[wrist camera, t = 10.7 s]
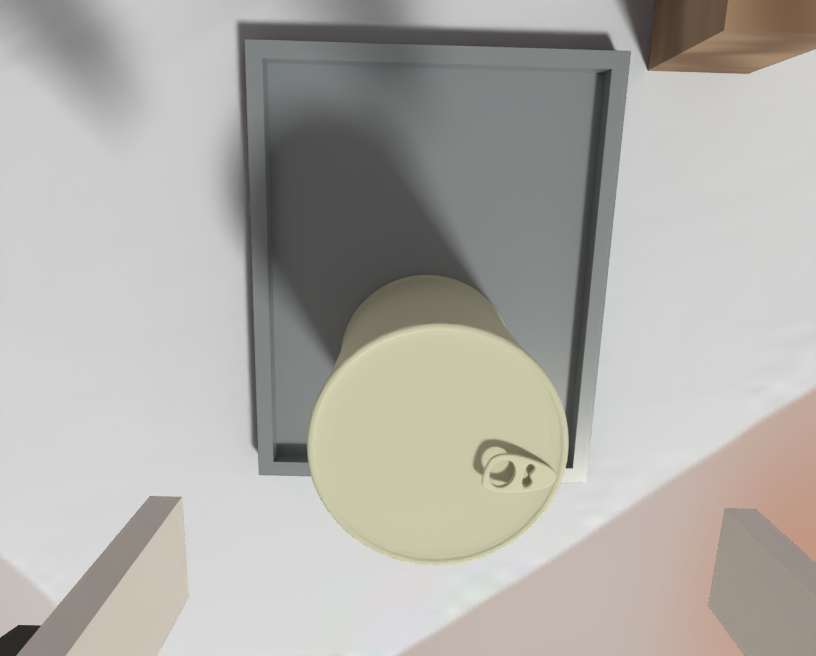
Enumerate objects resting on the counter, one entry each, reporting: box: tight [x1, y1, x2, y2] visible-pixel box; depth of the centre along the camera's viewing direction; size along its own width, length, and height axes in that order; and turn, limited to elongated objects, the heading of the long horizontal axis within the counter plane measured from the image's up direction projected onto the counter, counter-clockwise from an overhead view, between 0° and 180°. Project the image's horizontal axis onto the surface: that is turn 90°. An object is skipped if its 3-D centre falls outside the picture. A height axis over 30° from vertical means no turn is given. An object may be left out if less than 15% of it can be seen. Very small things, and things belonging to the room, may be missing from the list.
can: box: [307, 275, 569, 565], centre depth 25 cm, size 9×9×12 cm
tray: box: [245, 39, 631, 482], centre depth 30 cm, size 18×22×2 cm
